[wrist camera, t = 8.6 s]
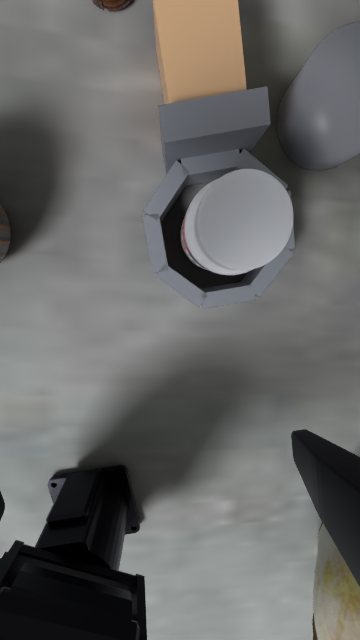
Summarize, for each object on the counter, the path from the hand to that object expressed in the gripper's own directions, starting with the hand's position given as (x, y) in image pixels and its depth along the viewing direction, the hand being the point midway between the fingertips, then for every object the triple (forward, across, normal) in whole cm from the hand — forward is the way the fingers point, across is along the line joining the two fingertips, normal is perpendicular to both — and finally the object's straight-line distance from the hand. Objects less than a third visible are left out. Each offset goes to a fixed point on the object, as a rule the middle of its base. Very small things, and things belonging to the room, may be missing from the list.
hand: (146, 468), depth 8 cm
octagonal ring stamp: (+13, -5, -10) cm, 17 cm away
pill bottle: (+13, -5, -7) cm, 16 cm away
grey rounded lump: (+13, -13, -13) cm, 23 cm away
